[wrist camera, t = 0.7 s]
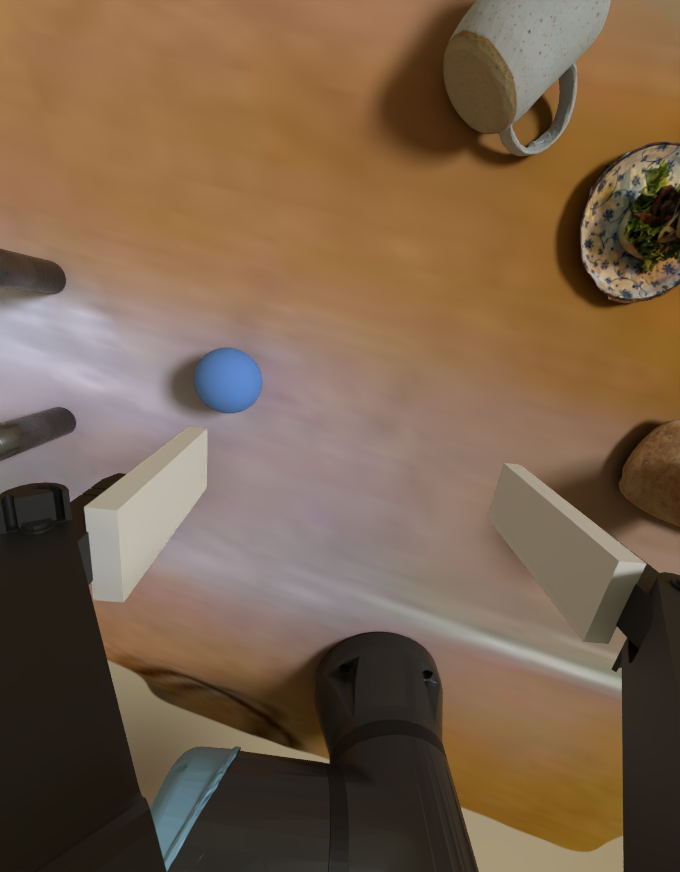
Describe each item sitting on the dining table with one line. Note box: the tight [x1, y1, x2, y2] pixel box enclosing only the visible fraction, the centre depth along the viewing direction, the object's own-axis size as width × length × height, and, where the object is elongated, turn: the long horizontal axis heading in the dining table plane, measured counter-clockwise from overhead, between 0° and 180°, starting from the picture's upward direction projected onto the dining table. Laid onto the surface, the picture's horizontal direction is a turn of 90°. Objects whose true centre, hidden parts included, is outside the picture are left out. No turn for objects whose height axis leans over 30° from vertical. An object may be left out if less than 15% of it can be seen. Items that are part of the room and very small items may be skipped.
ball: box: [194, 348, 262, 413], centre depth 31 cm, size 6×6×6 cm
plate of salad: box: [580, 142, 680, 304], centre depth 28 cm, size 12×12×8 cm
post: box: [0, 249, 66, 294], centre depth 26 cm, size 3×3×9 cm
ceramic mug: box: [443, 0, 611, 156], centre depth 24 cm, size 10×8×7 cm
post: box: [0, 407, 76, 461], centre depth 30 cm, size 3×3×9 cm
